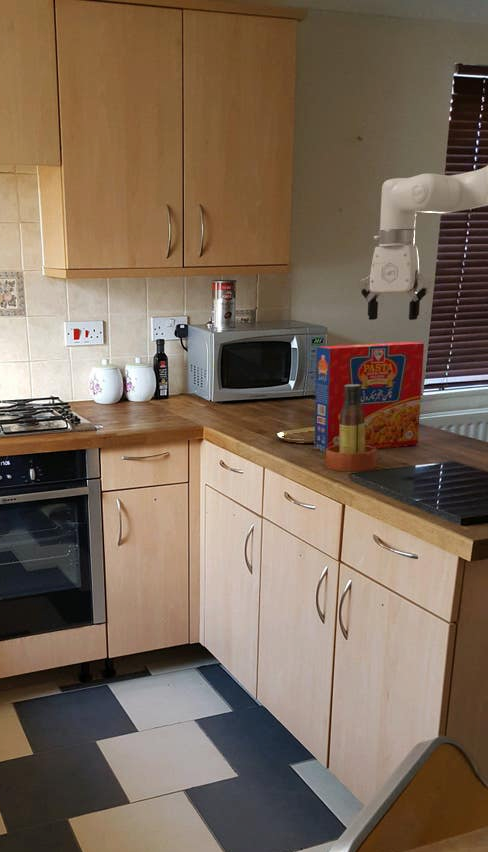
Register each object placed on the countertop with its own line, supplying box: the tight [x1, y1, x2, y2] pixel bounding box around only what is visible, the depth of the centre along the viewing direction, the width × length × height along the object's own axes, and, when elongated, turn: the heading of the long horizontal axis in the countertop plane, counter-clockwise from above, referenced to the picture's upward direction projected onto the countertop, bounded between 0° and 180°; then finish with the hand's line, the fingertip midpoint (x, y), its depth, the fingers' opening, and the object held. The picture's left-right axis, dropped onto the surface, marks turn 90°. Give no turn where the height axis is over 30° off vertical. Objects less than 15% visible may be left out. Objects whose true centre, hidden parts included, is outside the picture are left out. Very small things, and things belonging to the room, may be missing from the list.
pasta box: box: [313, 341, 425, 452], centre depth 242 cm, size 28×8×28 cm, turn 106°
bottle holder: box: [324, 445, 378, 472], centre depth 222 cm, size 13×13×4 cm
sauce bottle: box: [340, 384, 365, 453], centre depth 219 cm, size 6×6×20 cm
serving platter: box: [276, 426, 315, 443], centre depth 265 cm, size 19×35×2 cm, turn 120°
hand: (392, 319), depth 200 cm, fingers open, 9 cm apart
